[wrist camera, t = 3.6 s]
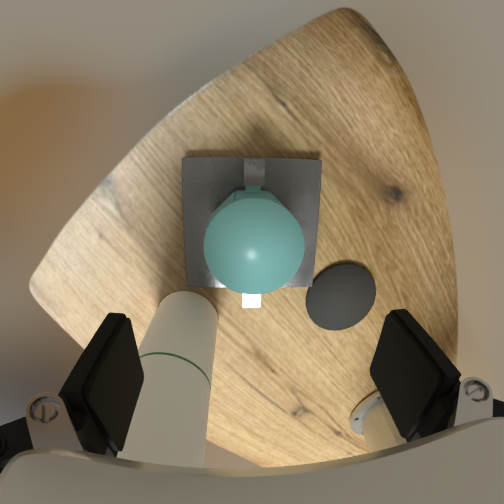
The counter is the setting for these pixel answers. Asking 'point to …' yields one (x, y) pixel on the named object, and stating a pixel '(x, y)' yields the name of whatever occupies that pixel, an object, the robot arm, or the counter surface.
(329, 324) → the coaster
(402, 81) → the counter surface
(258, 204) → the cap
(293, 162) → the grey square base plate
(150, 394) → the cylindrical container
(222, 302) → the counter surface
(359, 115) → the counter surface
